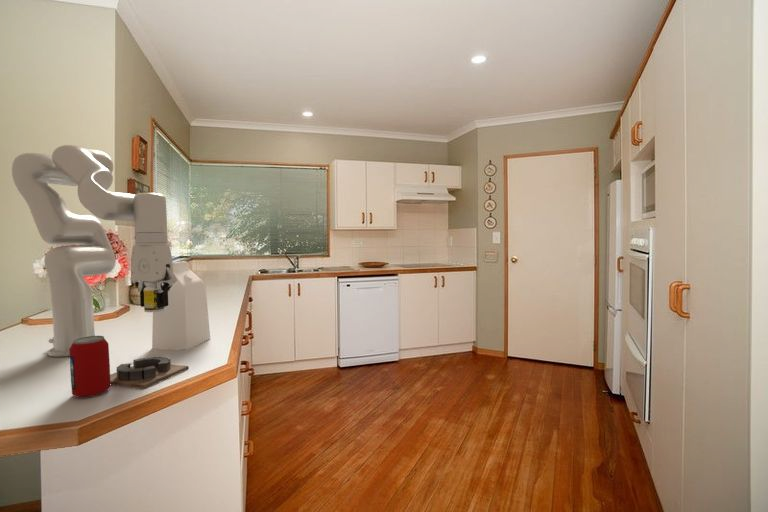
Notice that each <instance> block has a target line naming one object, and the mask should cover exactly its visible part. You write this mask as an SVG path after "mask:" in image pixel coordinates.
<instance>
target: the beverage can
mask: <svg viewBox="0 0 768 512" xmlns="http://www.w3.org/2000/svg"><path fill="white" fill-rule="evenodd" d="M109 347H110V346H109V343H108V341H107V340H106V338H105V336H104V335H95V336H88V337H83V338H79V339H76V340H74V341H73V344H72V345H71V347H70V349H69V354H70V356H69V370H70V383H71V384H70V385H71V386H70V387H71V394H72V396H74V397H78V398H79V399H81V398H82V399H84V398H85V399H86V398H87V399H88V398H92V397H96V396H99V395H102V394H104V393H105V392H107V391H108V389H110V388H111V385H110V374H111V365H110V364H111V363H110V349H109Z"/></svg>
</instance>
